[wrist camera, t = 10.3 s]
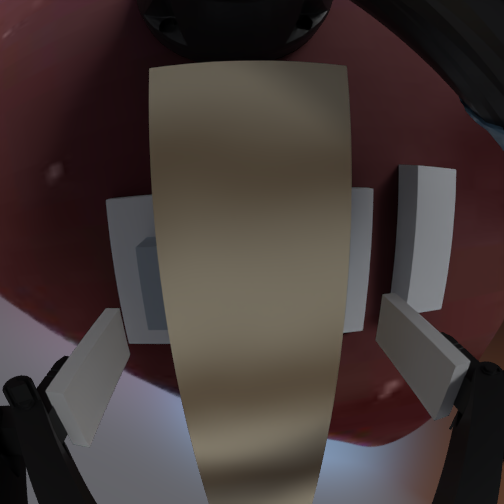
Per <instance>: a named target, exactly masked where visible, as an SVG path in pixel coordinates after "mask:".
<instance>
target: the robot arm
mask: <svg viewBox="0 0 504 504" xmlns="http://www.w3.org/2000/svg"><path fill="white" fill-rule="evenodd" d="M332 1H333V0H137V4H138V8H139V11H140V14H141V16H142V18H143V19H144V21H145V23H146V24H147V26H148V28H149V29H150V31H151V32H152V34H153V35H154V36H155V37H156V38H157V39H158V40H159V41H160V42H161V43H162V44H163V45H165V46H166V47H167V48H169V49H170V50H172V51H173V52H175V53H177V54H179V55H181V56H183V57H186V58H188V59H191V60H194V61H198V62H202V63H203V62H220V61H271V60H275V59H277V58H280V57H282V56H285V55H287V54H289V53H291V52H293V51H294V50H296V49H298V48H299V47H301V46H302V45H303V44H305V43H306V42H307V41H308V40H309V39H310V38H311V37H312V36H313V35H314V34H315V33H316V31H317V30H318V28H319V27H320V26H321V24H322V23H323V21H324V20H325V18H326V17H327V15H328V13H329V11H330V8H331V5H332ZM350 1H352V2H353V3H354V4H356V5H357V6H359V7H360V8H362V9H363V10H364V11H366V12H367V13H368V14H370V15H371V16H372V17H374V18H375V19H376V20H378V21H379V22H380V23H382V24H383V25H384V26H385V27H387V28H388V29H389V30H390V31H392V32H393V33H394V34H395V35H396V36H398V37H399V38H400V39H401V40H402V41H403V42H405V43H406V44H407V45H408V46H409V47H410V48H411V49H413V50H414V51H415V52H416V53H417V54H418V55H419V56H420V57H421V58H422V59H423V60H424V61H425V62H426V63H427V64H429V65H430V66H431V67H432V68H433V69H434V70H435V71H436V72H437V73H438V74H439V75H440V76H441V78H442V79H443V80H444V81H445V82H446V83H447V84H448V85H449V86H450V87H451V88H452V89H453V90H454V91H455V93H456V94H457V95H458V96H459V98H460V101H461V103H462V104H463V105H464V107H465V111H466V112H467V113H468V114H469V115H470V117H471V118H472V119H473V120H474V121H475V122H476V123H478V124H479V125H481V126H482V127H483V128H485V129H486V130H487V131H488V132H489V133H490V134H491V135H492V137H493V138H494V139H495V140H496V142H497V143H498V144H499V145H500V147H501V148H502V149H503V151H504V0H350ZM376 342H377V343H378V344H379V346H380V347H381V348H382V349H383V351H384V352H385V353H386V355H387V356H388V357H389V359H390V360H391V361H392V363H393V364H394V366H395V367H396V368H397V370H398V371H399V372H400V374H401V375H402V376H403V378H404V379H405V380H406V382H407V383H408V385H409V386H410V387H411V389H412V390H413V391H414V393H415V394H416V396H417V397H418V398H419V400H420V401H421V403H422V404H423V405H424V407H425V408H426V410H427V411H428V412H429V414H430V415H431V417H432V418H433V420H437V419H441V418H443V417H446V416H449V414H450V412H451V409H452V407H453V405H455V407H456V408H457V409H458V411H457V414H456V416H455V418H454V420H453V422H452V424H451V426H450V428H449V429H452V427H453V430H452V435H451V439H450V443H449V448H448V452H447V456H446V460H445V463H444V467H443V470H442V474H441V477H440V481H439V484H438V487H437V490H436V493H435V496H434V499H433V502H432V504H497V500H498V495H499V488H500V481H501V472H502V463H503V462H504V370H502V369H501V368H500V367H499V366H498V365H496V364H495V363H492V362H479V361H478V360H477V359H476V358H475V357H473V356H472V355H471V354H470V353H469V352H468V351H467V350H466V349H465V348H463V346H462V345H460V344H458V342H457V341H456V340H455V339H454V338H453V337H451V336H449V335H447V334H445V333H443V332H441V333H440V332H439V331H438V330H437V329H435V328H434V327H433V326H432V325H431V324H430V323H429V322H428V321H427V320H425V319H424V318H423V317H422V316H421V315H420V314H419V313H418V312H416V311H415V310H414V309H413V308H412V307H411V306H410V305H409V304H407V303H406V302H405V301H404V300H403V299H402V298H401V297H399V296H398V295H397V294H396V293H389V294H382V301H381V309H380V316H379V322H378V329H377V335H376ZM129 357H130V352H129V348H128V344H127V340H126V335H125V331H124V327H123V322H122V317H121V313H120V308H106V309H105V310H104V311H103V313H102V314H101V315H100V316H99V318H98V319H97V320H96V322H95V323H94V324H93V326H92V327H91V328H90V329H89V331H88V332H87V333H86V335H85V336H84V337H83V339H82V340H81V341H80V343H79V344H78V346H77V347H76V348H75V350H74V351H73V352H72V354H71V355H70V356H64V357H62V358H61V359H60V360H58V361H57V362H56V363H55V364H54V365H53V367H52V368H51V371H49V372H48V373H47V376H45V378H44V379H43V381H42V382H41V383H40V384H39V386H38V387H37V389H36V387H35V385H34V383H33V381H32V379H31V378H29V377H28V376H22V375H21V376H16V377H14V378H12V379H10V380H8V381H7V382H6V383H5V385H4V386H3V393H4V395H5V397H6V399H7V400H8V402H9V404H10V406H0V504H28V500H27V486H26V468H27V471H28V475H29V478H30V481H31V483H32V487H33V489H34V492H35V495H36V497H37V500H38V503H39V504H97V503H96V502H95V500H94V498H93V496H92V495H91V493H90V491H89V490H88V488H87V486H86V484H85V482H84V480H83V478H82V476H81V475H80V473H79V471H78V468H77V467H76V464H75V462H74V460H73V458H72V456H71V454H70V452H69V450H68V448H67V446H66V444H65V442H64V440H65V438H66V436H67V435H68V436H69V438H70V440H71V441H72V443H73V444H74V445H79V446H84V447H90V446H91V443H92V441H93V438H94V436H95V434H96V431H97V429H98V426H99V424H100V422H101V419H102V417H103V415H104V412H105V410H106V407H107V405H108V403H109V400H110V398H111V396H112V394H113V391H114V389H115V387H116V385H117V383H118V380H119V378H120V376H121V374H122V372H123V370H124V367H125V365H126V363H127V361H128V359H129Z"/></svg>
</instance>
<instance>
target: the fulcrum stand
mask: <svg viewBox="0 0 504 504" xmlns="http://www.w3.org/2000/svg"><path fill="white" fill-rule="evenodd" d="M106 208H107V218H108V227H109V235H110V243H111V250H112V257H113V264H114V270H115V276H116V282H117V288H118V294H119V299H120V304H121V309H122V314H123V319H124V324H125V328H126V333H127V337H128V341H129V344H170V339H169V333H168V327H167V320H166V314H165V307H164V301H163V294H162V286H161V279H160V271H159V262H158V254H157V244H156V234H155V224H154V212H153V199H152V194H151V195H139V196H129V197H118V198H110V199H107V200H106ZM372 219H373V189H371V188H360V187H352V195H351V234H350V255H349V272H348V286H347V298H346V309H345V320H344V329H343V333H346V332H354V331H362V330H363V324H364V316H365V308H366V299H367V289H368V279H369V268H370V255H371V239H372Z"/></svg>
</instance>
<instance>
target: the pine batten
mask: <svg viewBox="0 0 504 504" xmlns="http://www.w3.org/2000/svg"><path fill="white" fill-rule="evenodd" d="M149 141H150V166H151V184H152V199H153V212H154V224H155V234H156V244H157V254H158V262H159V271H160V279H161V286H162V294H163V301H164V307H165V314H166V320H167V327H168V333H169V339H170V344H171V350H172V356H173V361H174V366H175V371H176V376H177V381H178V386H179V391H180V396H181V400H182V405H183V409H184V414H185V418H186V422H187V426H188V430H189V434H190V438H191V442H192V446H193V450H194V454H195V457H196V461H197V464H198V468H199V472H200V475H201V479H202V482H203V485H204V489H205V492H206V496H207V498H208V502H209V504H312V502H313V498H314V494H315V490H316V486H317V482H318V478H319V473H320V469H321V465H322V460H323V455H324V451H325V446H326V441H327V436H328V431H329V425H330V420H331V414H332V408H333V402H334V396H335V390H336V383H337V377H338V370H339V362H340V355H341V347H342V338H343V329H344V320H345V309H346V298H347V286H348V272H349V255H350V234H351V195H352V164H351V125H350V105H349V89H348V76H347V66H342V65H333V64H323V63H310V62H294V61H220V62H203V63H191V64H180V65H171V66H163V67H155V68H149Z"/></svg>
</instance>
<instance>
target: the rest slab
mask: <svg viewBox="0 0 504 504" xmlns="http://www.w3.org/2000/svg"><path fill="white" fill-rule="evenodd" d="M455 192H456V169H447V168H438V167H428V166H417V165H399V193H398V218H397V234H396V247H395V258H394V268H393V278H392V286H391V293H396V294H397V295H398V296H399V297H401V298H402V299H403V300H404V301H405V302H406V303H407V304H409V305H410V306H411V307H412V308H413V309H414V310H415V311H416V312H418V313H420V312H426V311H432V310H438V309H441V307H442V302H443V297H444V291H445V286H446V280H447V273H448V267H449V260H450V252H451V244H452V234H453V223H454V210H455Z"/></svg>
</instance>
